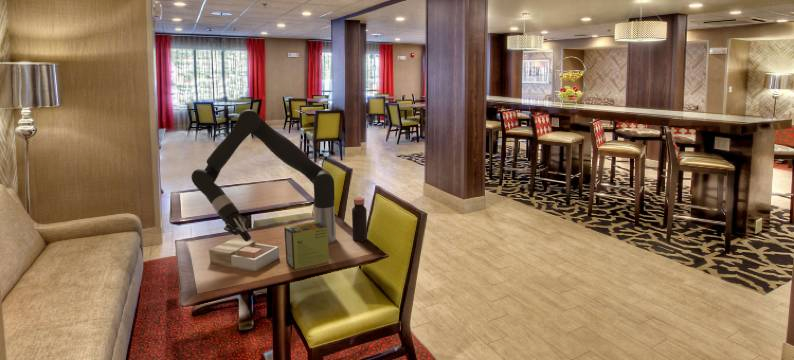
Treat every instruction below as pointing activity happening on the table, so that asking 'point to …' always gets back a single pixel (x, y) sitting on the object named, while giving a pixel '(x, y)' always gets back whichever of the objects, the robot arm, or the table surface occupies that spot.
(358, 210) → the bottle
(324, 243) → the protein box
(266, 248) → the white inner box tray
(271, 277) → the table surface
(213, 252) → the beige box sleeve
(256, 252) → the block
